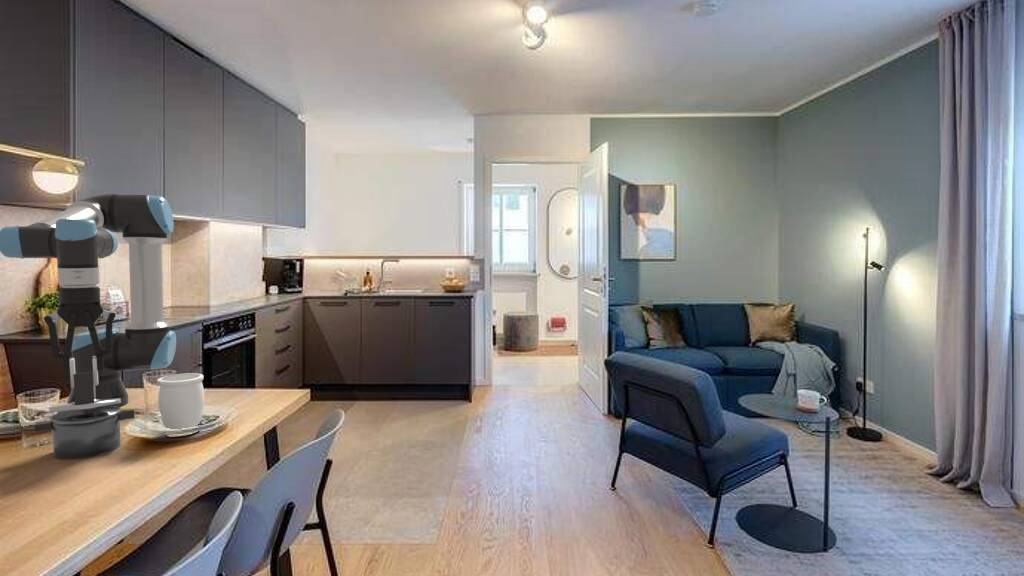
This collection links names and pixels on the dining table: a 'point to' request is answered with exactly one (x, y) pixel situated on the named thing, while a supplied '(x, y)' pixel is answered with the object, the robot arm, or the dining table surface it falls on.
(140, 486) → the dining table surface
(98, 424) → the pot
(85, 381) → the lid
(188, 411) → the jar
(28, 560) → the dining table surface
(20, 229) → the robot arm
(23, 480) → the dining table surface
